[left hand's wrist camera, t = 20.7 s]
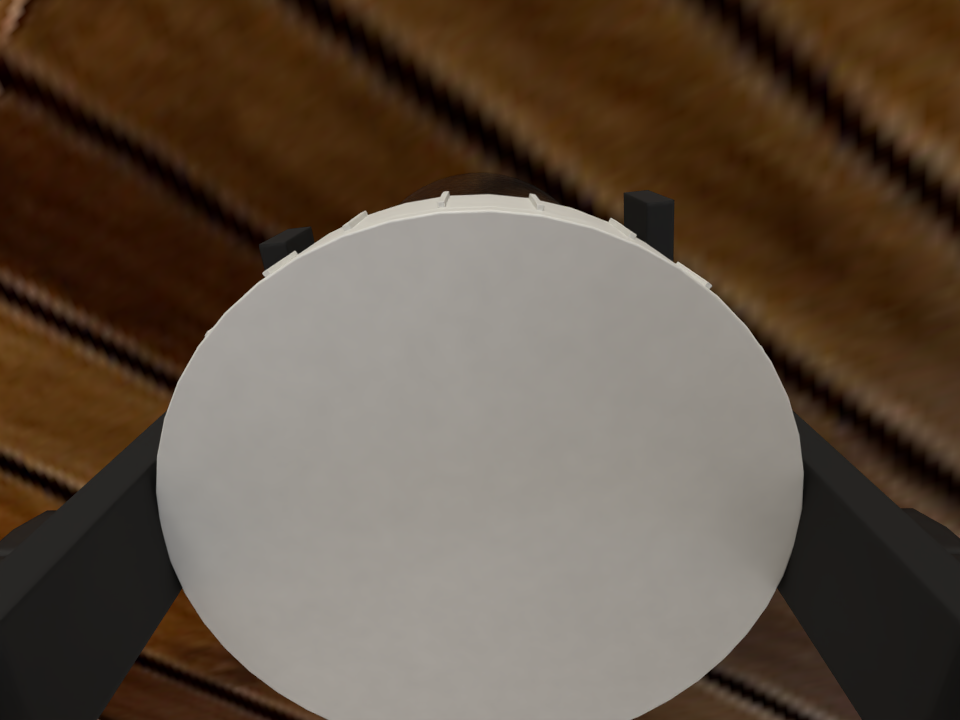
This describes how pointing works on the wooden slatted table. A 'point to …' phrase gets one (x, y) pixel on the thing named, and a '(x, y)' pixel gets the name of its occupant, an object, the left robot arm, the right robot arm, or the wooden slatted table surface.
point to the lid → (479, 470)
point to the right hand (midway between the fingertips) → (464, 215)
